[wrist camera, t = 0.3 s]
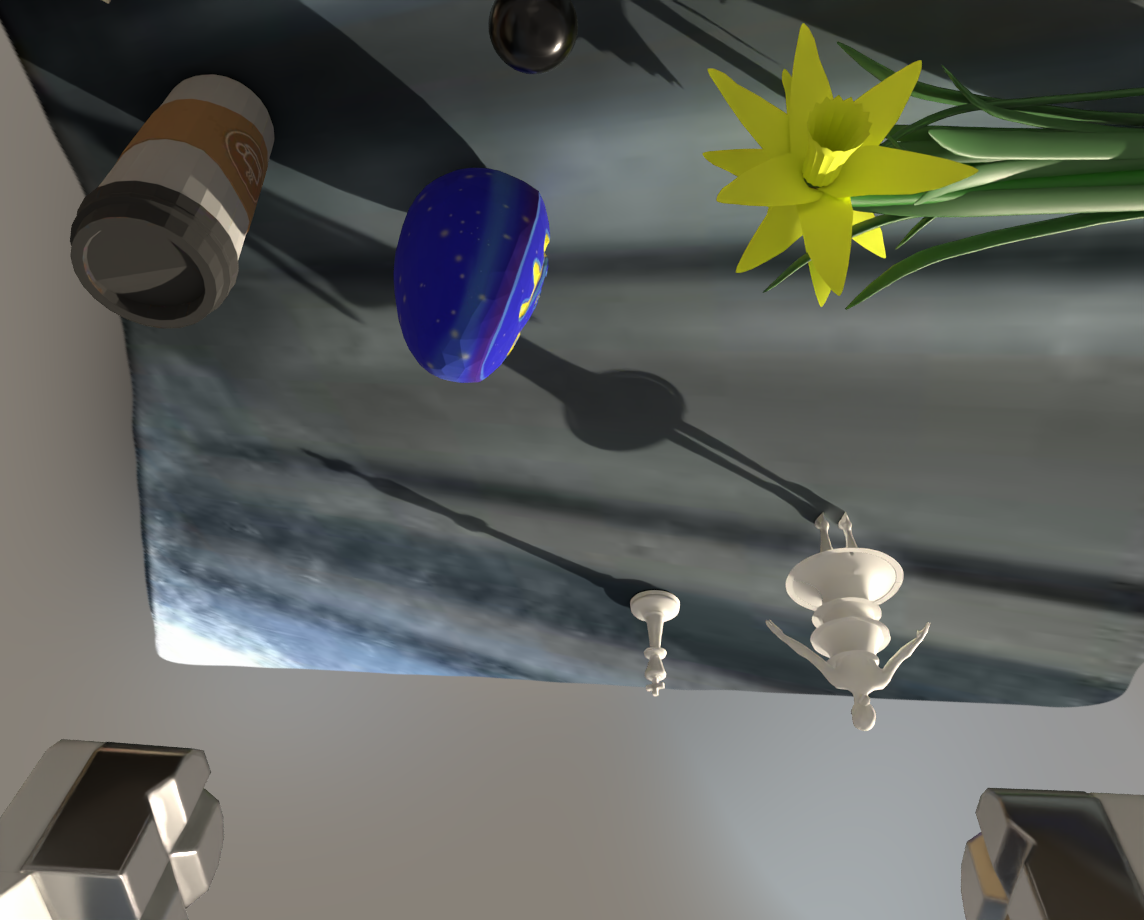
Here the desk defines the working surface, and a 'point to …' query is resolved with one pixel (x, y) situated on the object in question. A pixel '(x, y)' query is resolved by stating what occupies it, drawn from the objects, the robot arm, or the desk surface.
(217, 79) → the coffee cup
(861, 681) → the figurine
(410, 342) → the ornament
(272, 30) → the desk surface
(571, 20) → the lever
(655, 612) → the chess piece
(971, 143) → the daffodil flowers
